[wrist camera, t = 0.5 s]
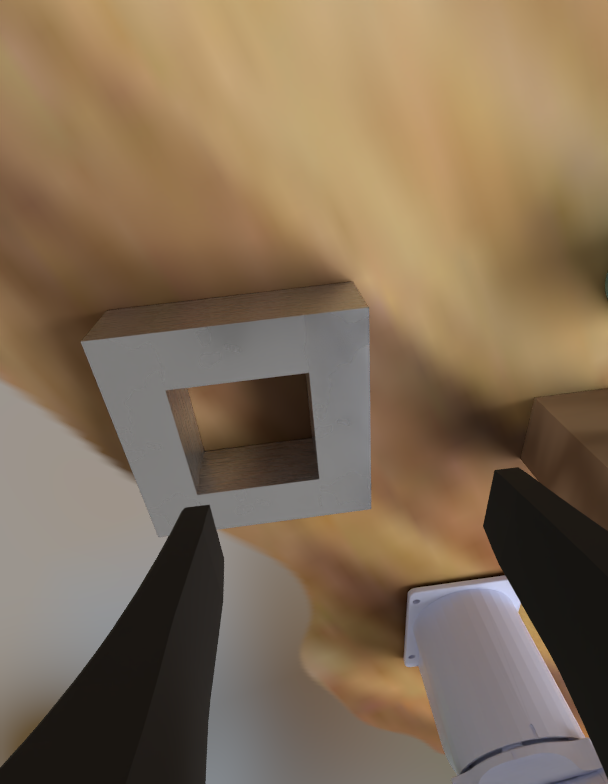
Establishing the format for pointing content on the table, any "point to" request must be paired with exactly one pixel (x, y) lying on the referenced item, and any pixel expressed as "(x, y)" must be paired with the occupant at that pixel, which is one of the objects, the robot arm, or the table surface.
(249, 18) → the table surface
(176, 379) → the socket block
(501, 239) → the table surface
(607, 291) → the round dowel
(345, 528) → the table surface
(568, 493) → the square bit
